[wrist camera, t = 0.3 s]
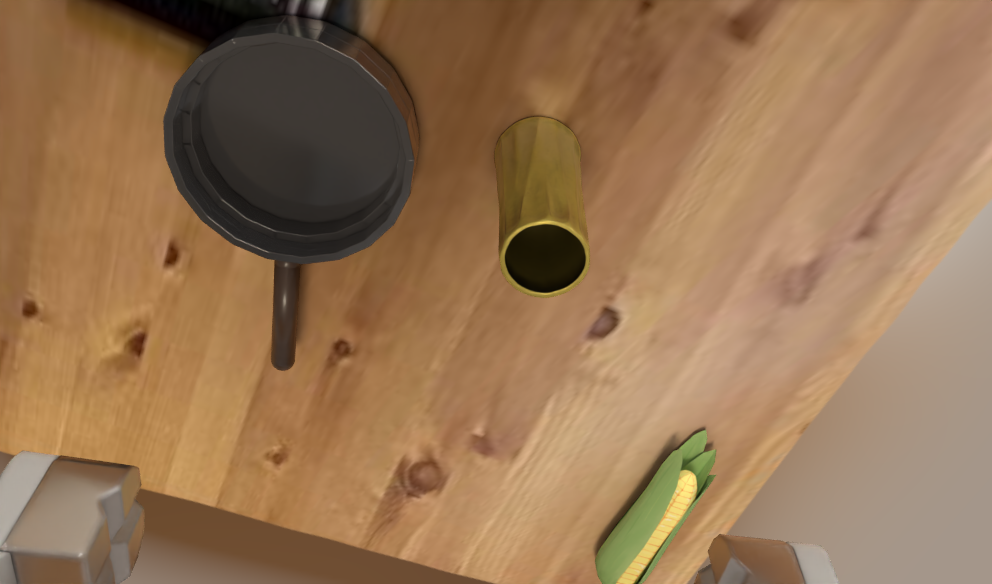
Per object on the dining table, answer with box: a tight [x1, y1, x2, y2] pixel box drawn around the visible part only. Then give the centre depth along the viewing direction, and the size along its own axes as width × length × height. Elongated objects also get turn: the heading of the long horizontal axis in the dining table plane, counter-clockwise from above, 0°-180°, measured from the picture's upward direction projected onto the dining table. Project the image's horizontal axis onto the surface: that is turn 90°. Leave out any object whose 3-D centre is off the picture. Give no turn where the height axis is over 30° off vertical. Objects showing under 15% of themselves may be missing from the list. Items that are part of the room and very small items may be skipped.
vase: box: [494, 117, 590, 298], centre depth 55 cm, size 6×6×14 cm
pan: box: [163, 15, 419, 264], centre depth 58 cm, size 16×16×4 cm
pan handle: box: [271, 260, 300, 371], centre depth 64 cm, size 11×2×2 cm, turn 170°
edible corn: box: [595, 430, 716, 584], centre depth 78 cm, size 5×20×4 cm, turn 159°
